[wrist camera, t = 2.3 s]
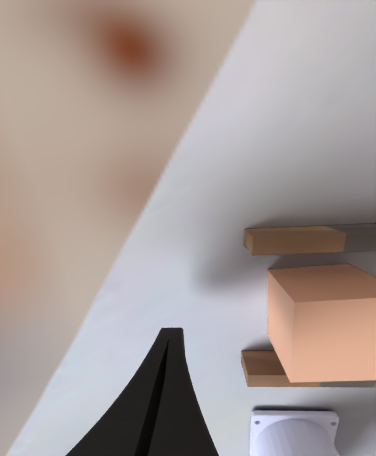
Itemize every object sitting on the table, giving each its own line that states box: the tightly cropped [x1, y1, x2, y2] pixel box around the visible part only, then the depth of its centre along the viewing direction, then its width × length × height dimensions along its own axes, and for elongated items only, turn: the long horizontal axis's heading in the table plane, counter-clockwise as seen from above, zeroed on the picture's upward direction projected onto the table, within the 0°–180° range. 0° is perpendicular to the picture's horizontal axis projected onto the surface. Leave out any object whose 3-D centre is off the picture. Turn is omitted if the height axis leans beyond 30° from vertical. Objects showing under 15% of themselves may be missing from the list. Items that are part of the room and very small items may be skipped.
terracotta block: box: [267, 264, 376, 383], centre depth 12 cm, size 6×6×4 cm
